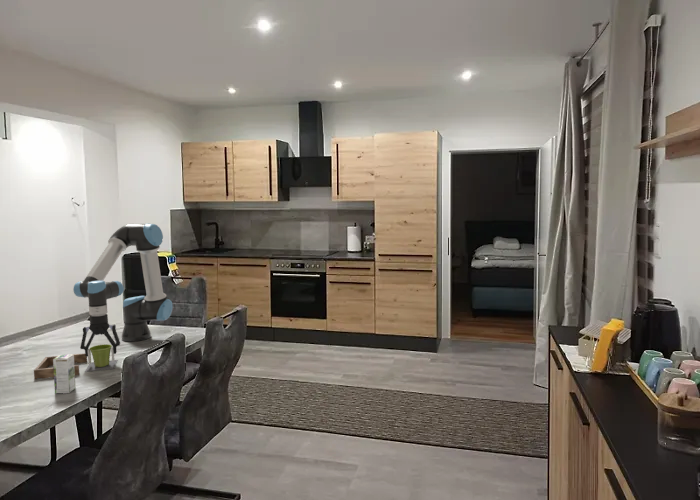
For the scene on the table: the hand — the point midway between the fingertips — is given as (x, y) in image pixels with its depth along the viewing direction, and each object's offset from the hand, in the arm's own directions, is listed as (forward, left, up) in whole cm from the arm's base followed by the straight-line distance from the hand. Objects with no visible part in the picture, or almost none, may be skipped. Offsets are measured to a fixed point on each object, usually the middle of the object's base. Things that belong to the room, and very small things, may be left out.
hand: (101, 361), depth 243 cm
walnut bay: (+17, 0, -2) cm, 17 cm away
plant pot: (0, 0, -2) cm, 2 cm away
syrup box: (+9, +31, -2) cm, 32 cm away
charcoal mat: (0, 0, -2) cm, 2 cm away
